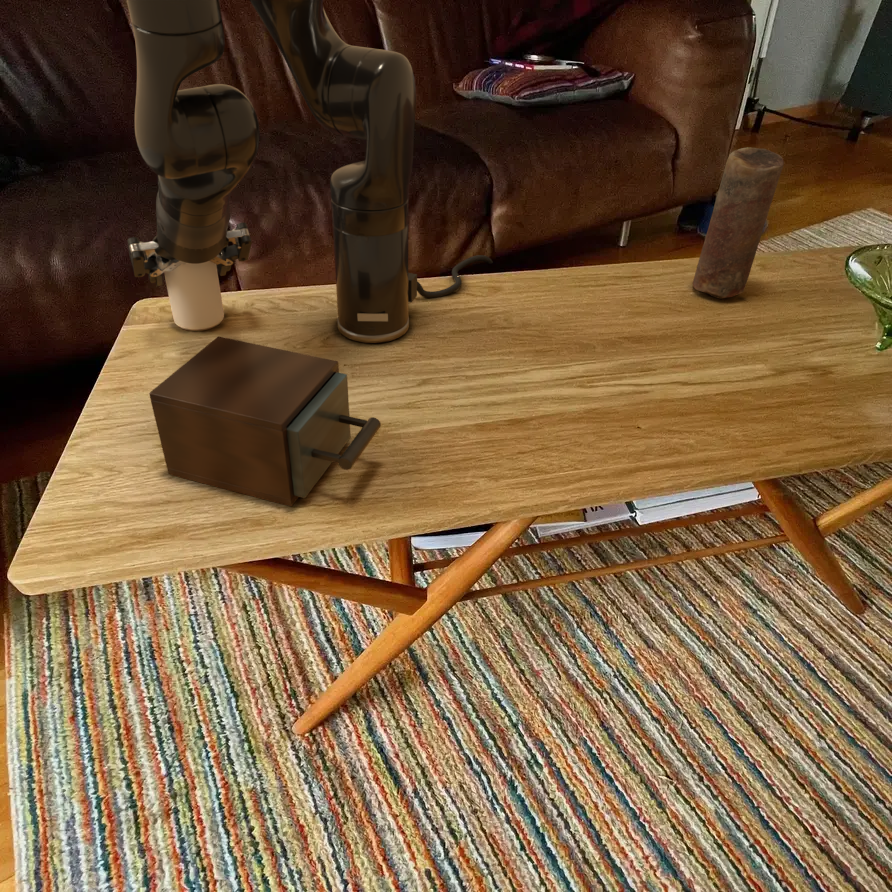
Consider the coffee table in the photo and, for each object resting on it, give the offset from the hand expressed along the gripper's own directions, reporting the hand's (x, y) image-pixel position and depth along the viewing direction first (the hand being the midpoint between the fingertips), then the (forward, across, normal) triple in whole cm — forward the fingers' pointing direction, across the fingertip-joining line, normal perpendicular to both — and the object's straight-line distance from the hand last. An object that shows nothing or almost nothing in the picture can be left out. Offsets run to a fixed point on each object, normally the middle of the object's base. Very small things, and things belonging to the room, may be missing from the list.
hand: (189, 273), depth 98 cm
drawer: (-22, -2, +29) cm, 36 cm away
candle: (-11, -72, +20) cm, 75 cm away
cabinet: (-19, +1, +28) cm, 34 cm away
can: (+3, 0, +5) cm, 6 cm away
